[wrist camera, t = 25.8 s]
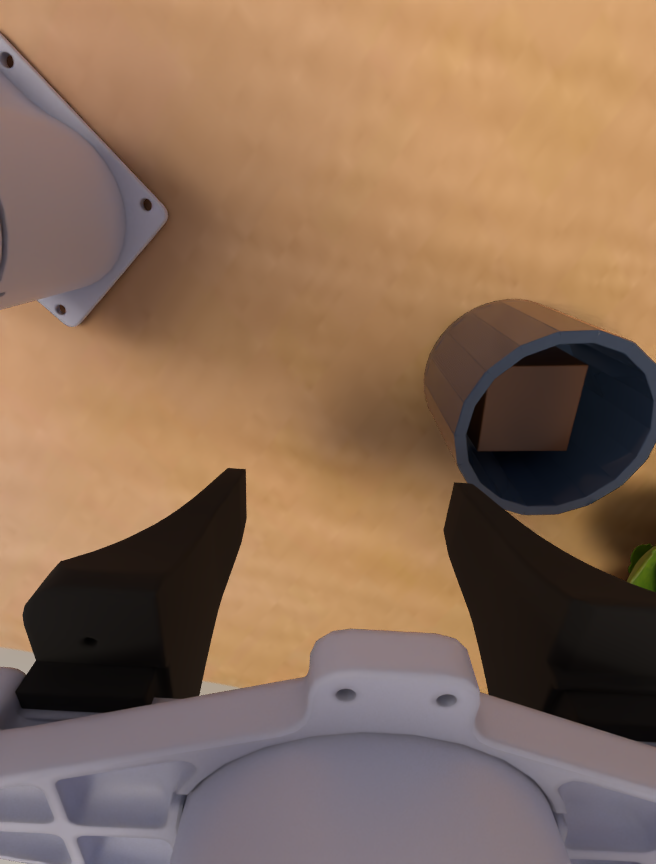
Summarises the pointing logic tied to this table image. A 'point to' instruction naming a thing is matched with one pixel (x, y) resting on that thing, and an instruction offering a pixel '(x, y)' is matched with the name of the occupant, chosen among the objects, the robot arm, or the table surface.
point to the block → (530, 404)
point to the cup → (594, 422)
